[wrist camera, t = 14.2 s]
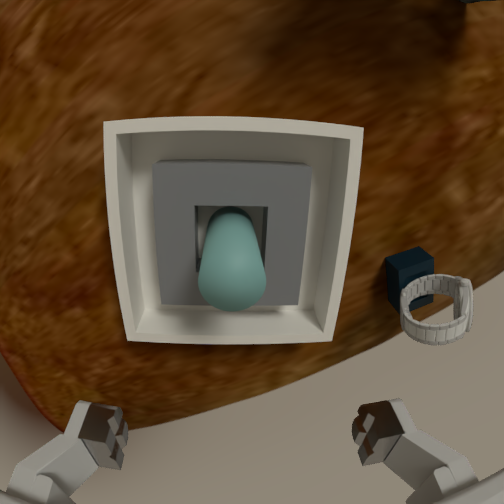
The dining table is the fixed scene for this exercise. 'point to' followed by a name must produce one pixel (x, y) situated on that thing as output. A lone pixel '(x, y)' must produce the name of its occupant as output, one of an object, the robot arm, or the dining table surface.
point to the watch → (427, 296)
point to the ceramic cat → (472, 0)
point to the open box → (238, 195)
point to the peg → (231, 262)
